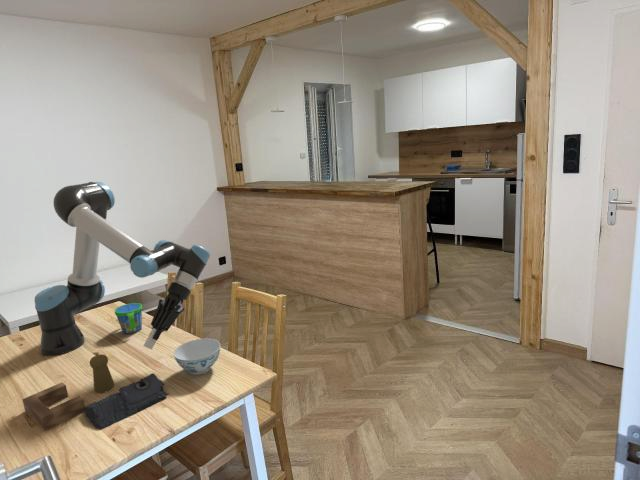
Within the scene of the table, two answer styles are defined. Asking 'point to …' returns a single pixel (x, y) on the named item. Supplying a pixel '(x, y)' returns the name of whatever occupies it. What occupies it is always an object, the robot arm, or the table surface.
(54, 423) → the walnut pocket
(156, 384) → the dark slate chunk
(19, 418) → the table surface
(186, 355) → the chinaware
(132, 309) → the snack cup
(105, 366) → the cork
